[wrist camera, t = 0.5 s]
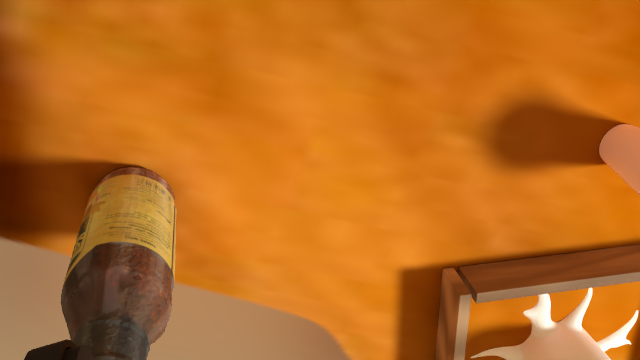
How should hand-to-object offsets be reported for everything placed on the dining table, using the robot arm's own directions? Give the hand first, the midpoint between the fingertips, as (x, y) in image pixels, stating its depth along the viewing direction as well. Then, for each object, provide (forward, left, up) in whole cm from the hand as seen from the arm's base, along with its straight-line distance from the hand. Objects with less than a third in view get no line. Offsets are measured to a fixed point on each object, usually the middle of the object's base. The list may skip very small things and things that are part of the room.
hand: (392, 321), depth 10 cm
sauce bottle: (+15, -9, -35) cm, 39 cm away
